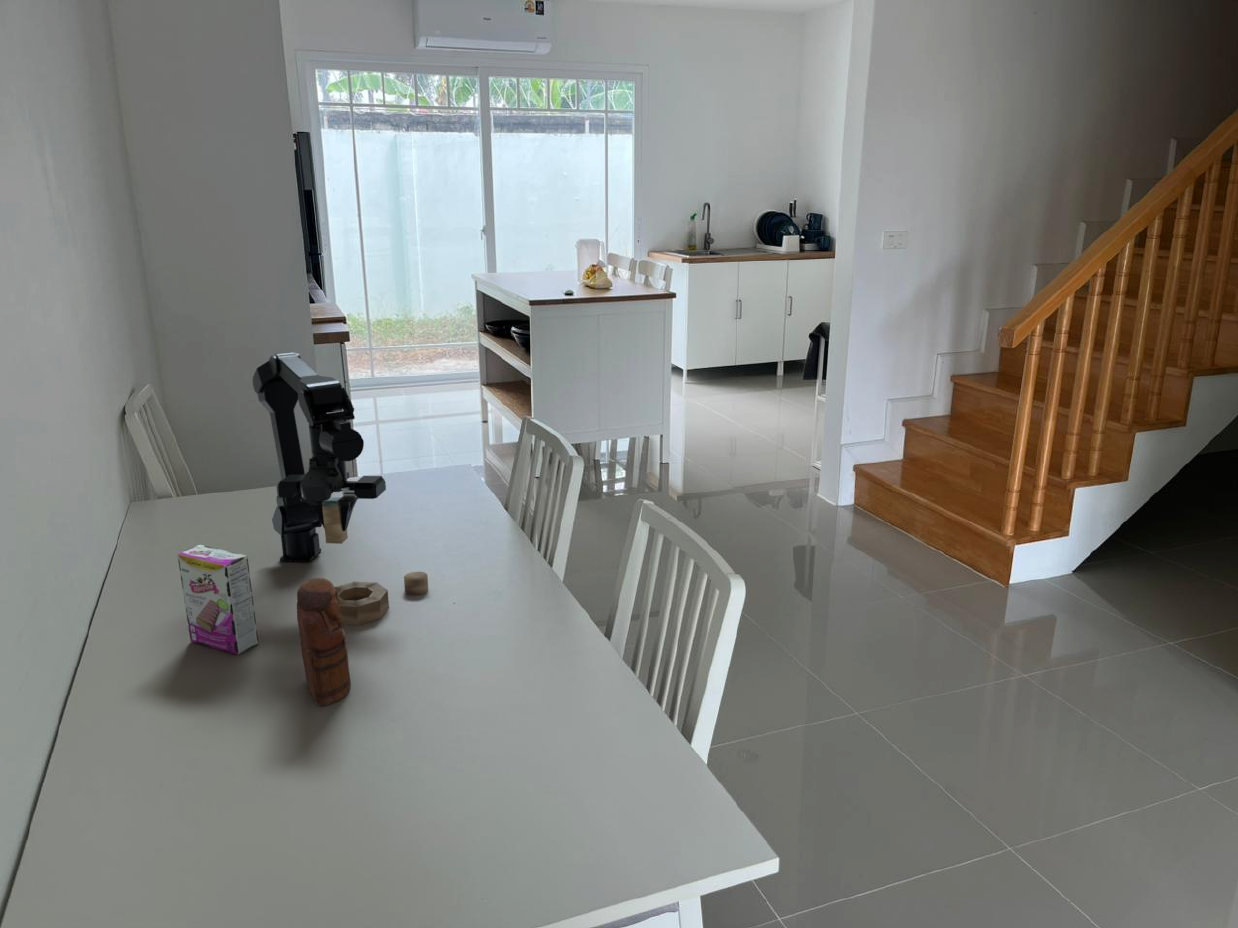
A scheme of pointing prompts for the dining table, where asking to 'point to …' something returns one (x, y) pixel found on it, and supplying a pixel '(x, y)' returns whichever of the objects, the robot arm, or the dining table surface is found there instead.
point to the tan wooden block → (333, 521)
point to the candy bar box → (218, 598)
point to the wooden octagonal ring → (362, 602)
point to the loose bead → (416, 583)
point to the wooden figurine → (322, 641)
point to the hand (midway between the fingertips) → (336, 530)
